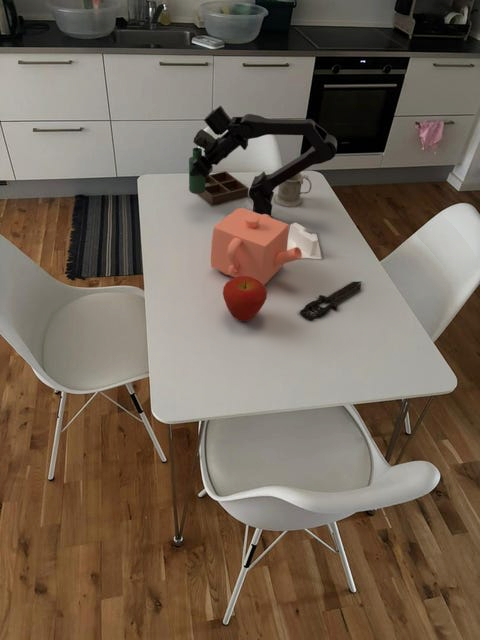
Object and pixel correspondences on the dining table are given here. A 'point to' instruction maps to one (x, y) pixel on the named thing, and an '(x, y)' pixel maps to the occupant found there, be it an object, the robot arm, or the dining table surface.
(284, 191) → the mug
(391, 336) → the dining table surface
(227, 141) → the robot arm
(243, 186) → the tray
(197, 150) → the bottle
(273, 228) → the teapot
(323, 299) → the knife
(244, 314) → the apple
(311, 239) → the napkin holder
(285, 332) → the dining table surface
